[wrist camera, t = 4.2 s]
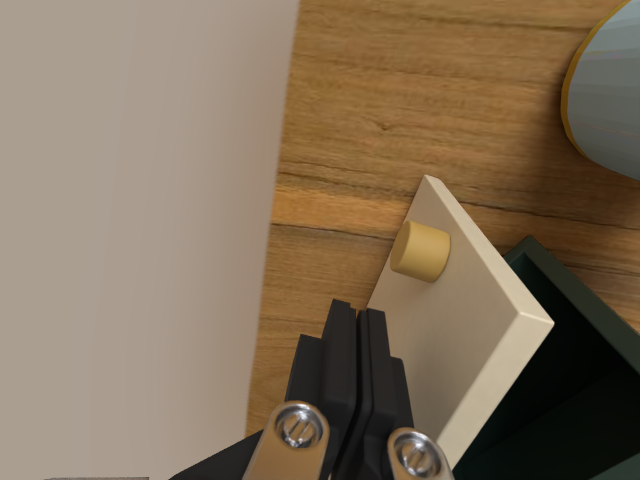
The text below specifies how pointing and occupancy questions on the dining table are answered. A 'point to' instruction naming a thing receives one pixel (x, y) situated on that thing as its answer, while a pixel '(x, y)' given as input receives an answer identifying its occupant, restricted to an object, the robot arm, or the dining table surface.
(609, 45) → the bottle
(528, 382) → the cupboard
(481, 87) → the dining table surface
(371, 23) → the dining table surface
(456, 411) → the door
